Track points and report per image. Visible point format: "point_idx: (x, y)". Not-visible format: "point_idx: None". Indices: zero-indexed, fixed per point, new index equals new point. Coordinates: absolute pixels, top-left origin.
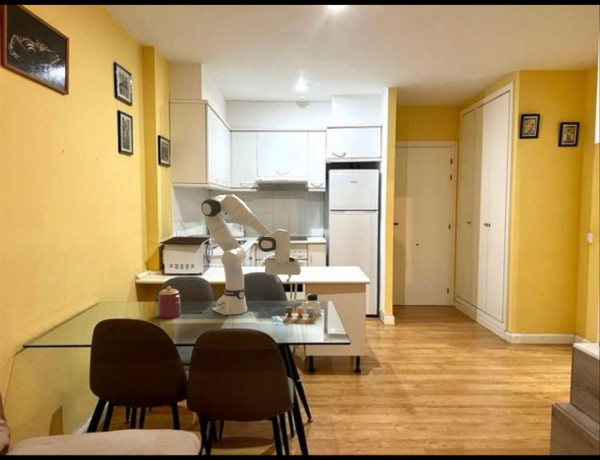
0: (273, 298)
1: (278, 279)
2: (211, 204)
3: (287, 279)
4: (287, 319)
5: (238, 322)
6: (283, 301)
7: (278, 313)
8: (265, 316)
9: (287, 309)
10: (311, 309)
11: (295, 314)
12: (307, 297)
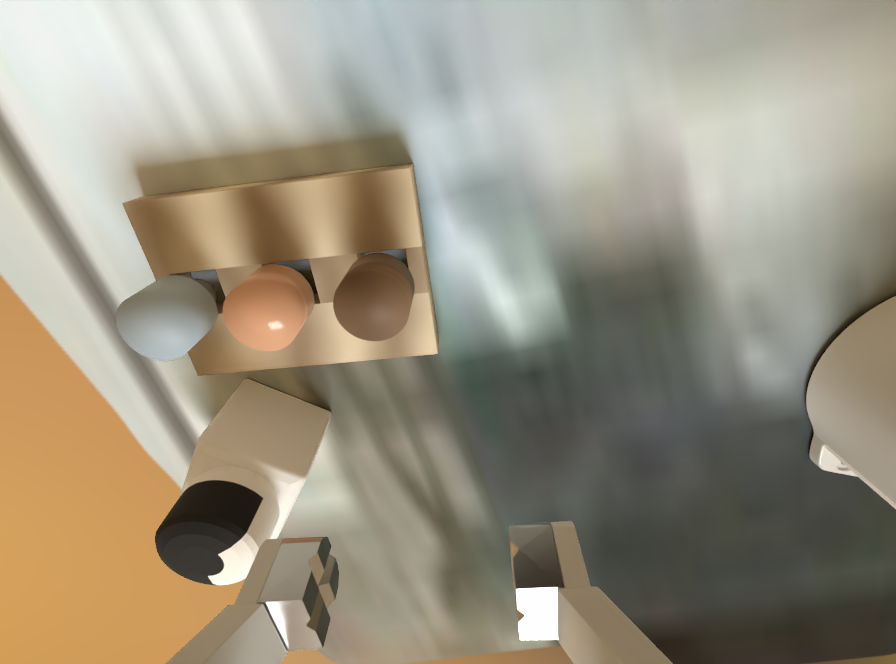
0: None
1: (526, 588)
2: None
3: (283, 615)
4: (366, 173)
5: (869, 40)
6: None
7: (532, 393)
8: (620, 298)
9: (381, 267)
10: (129, 298)
11: None
12: (252, 518)
